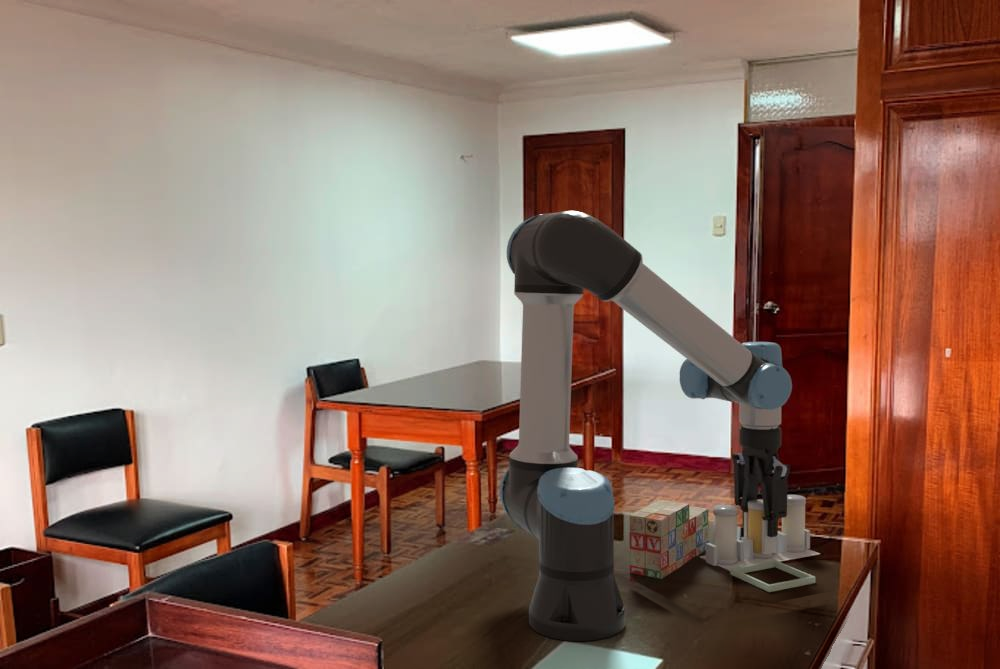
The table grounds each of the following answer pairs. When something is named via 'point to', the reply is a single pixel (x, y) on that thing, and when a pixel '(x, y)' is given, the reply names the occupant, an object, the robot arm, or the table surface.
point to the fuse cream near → (725, 533)
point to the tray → (804, 580)
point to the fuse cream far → (795, 523)
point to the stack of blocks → (666, 537)
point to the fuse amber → (756, 527)
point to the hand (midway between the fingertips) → (759, 548)
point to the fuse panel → (747, 552)
